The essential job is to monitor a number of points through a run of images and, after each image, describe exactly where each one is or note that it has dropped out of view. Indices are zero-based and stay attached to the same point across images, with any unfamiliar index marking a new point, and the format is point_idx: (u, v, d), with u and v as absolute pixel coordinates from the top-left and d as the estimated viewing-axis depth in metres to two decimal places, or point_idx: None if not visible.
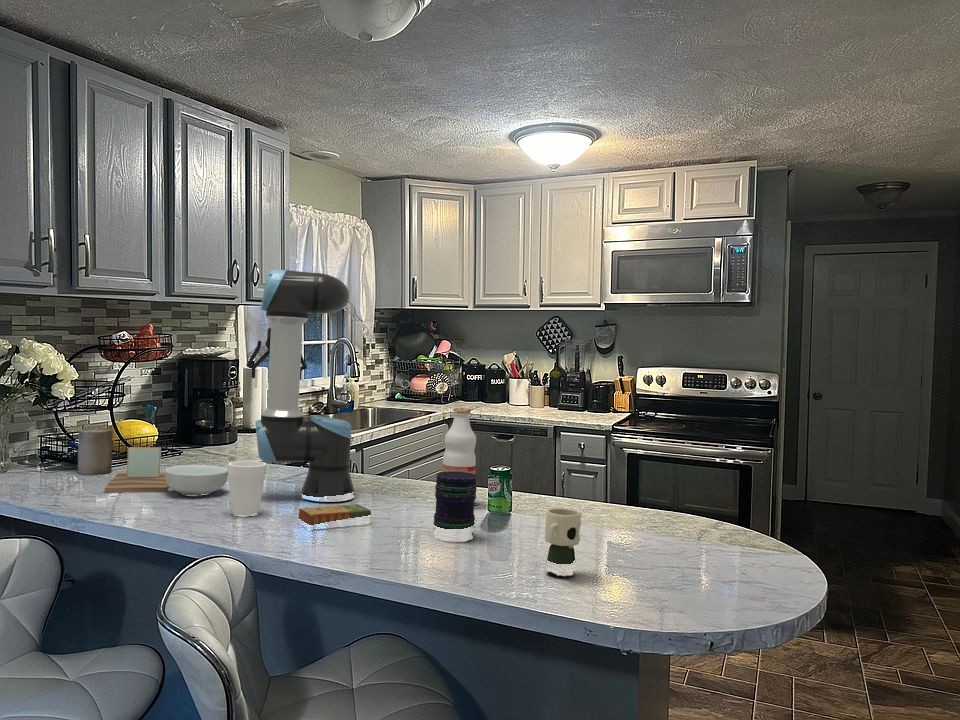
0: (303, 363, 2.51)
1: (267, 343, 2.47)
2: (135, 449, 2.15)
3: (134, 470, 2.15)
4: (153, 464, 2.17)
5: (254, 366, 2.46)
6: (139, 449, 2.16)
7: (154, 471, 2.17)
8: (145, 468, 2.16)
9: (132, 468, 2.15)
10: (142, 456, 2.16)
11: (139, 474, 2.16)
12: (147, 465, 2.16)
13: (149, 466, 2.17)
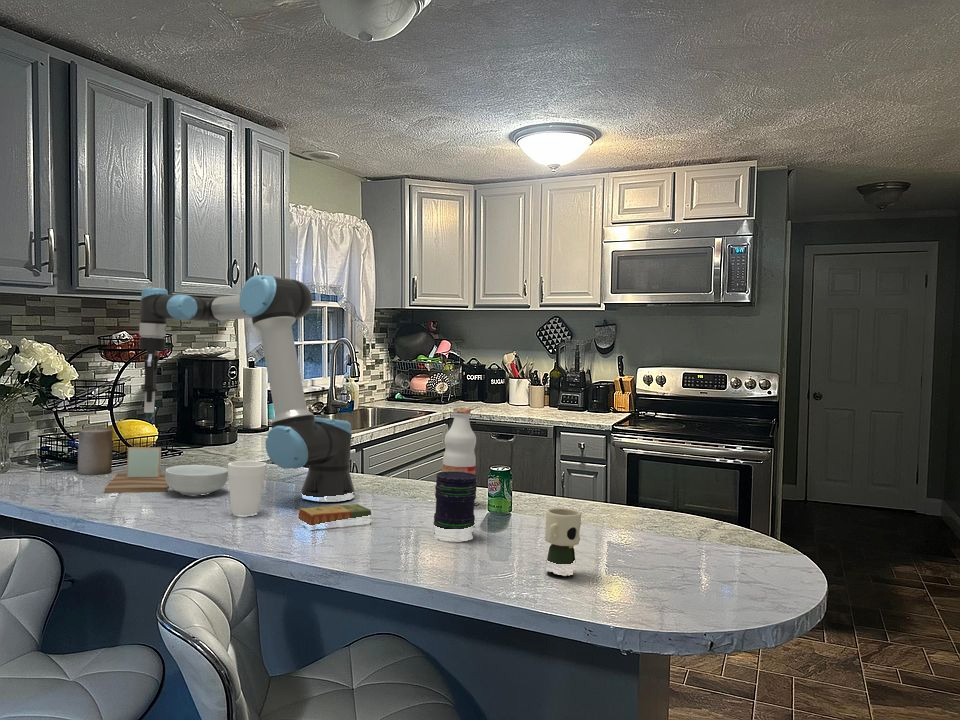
0: None
1: None
2: (135, 449, 2.15)
3: (134, 470, 2.15)
4: (153, 464, 2.17)
5: None
6: (139, 449, 2.16)
7: (154, 471, 2.17)
8: (145, 468, 2.16)
9: (132, 468, 2.15)
10: (142, 456, 2.16)
11: (139, 474, 2.16)
12: (147, 465, 2.16)
13: (149, 466, 2.17)
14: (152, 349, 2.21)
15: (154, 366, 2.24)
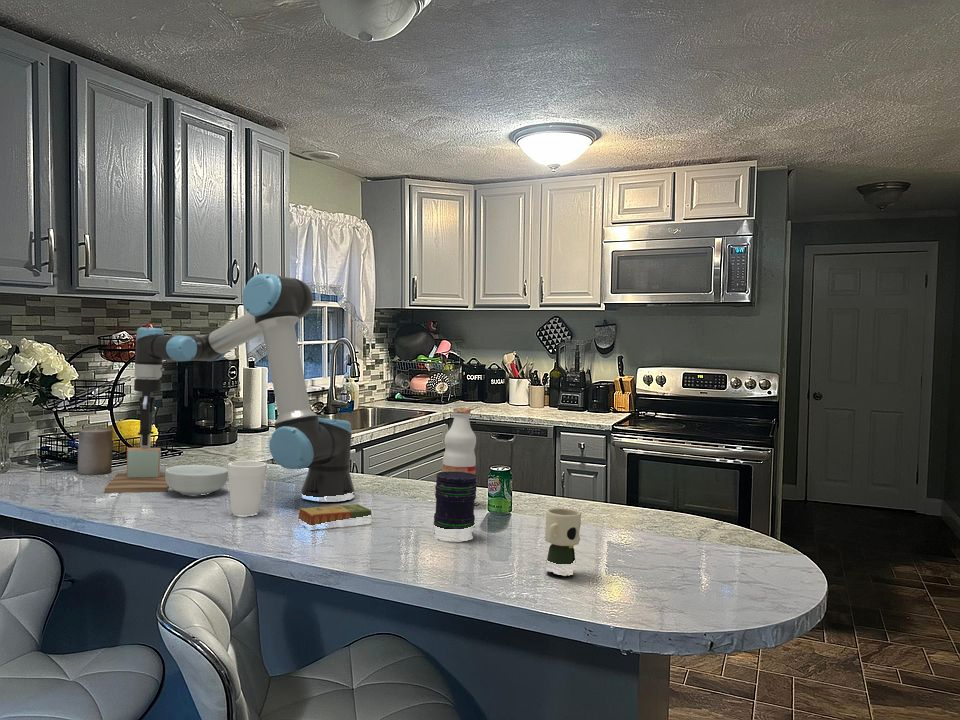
0: (140, 426, 2.14)
1: None
2: (134, 450, 2.14)
3: (134, 471, 2.15)
4: (153, 465, 2.16)
5: None
6: (138, 450, 2.14)
7: (154, 471, 2.17)
8: (145, 469, 2.16)
9: (132, 469, 2.15)
10: (141, 457, 2.15)
11: (139, 474, 2.16)
12: (147, 466, 2.16)
13: (148, 467, 2.16)
14: (147, 391, 2.14)
15: (150, 408, 2.17)
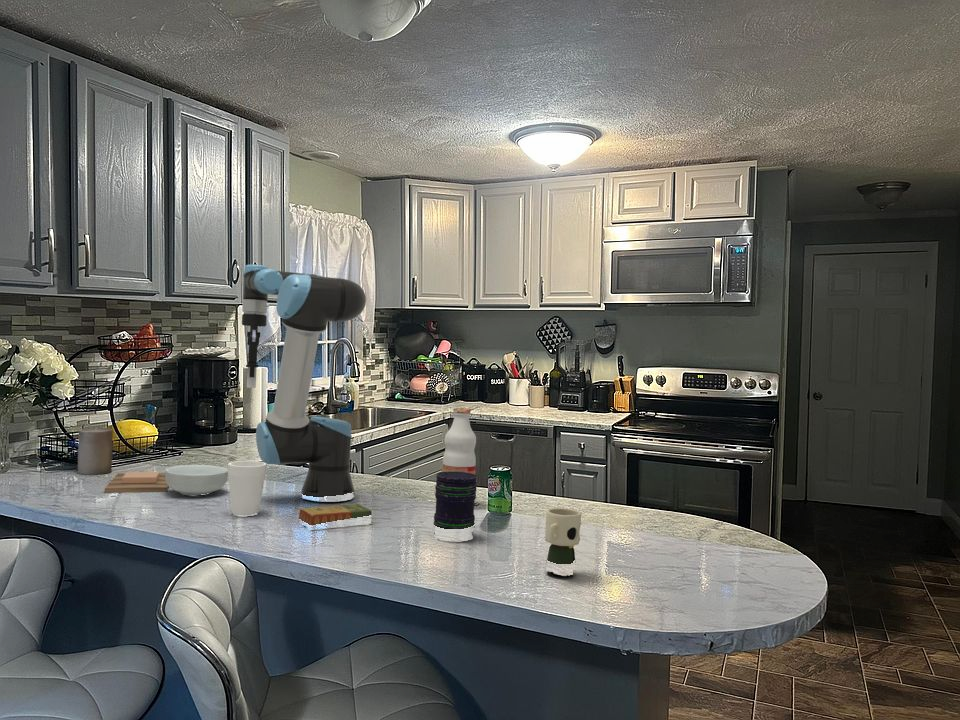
0: (248, 358, 2.24)
1: None
2: (130, 483, 2.07)
3: None
4: None
5: None
6: (134, 483, 2.08)
7: None
8: None
9: None
10: None
11: None
12: None
13: None
14: (255, 325, 2.25)
15: None
